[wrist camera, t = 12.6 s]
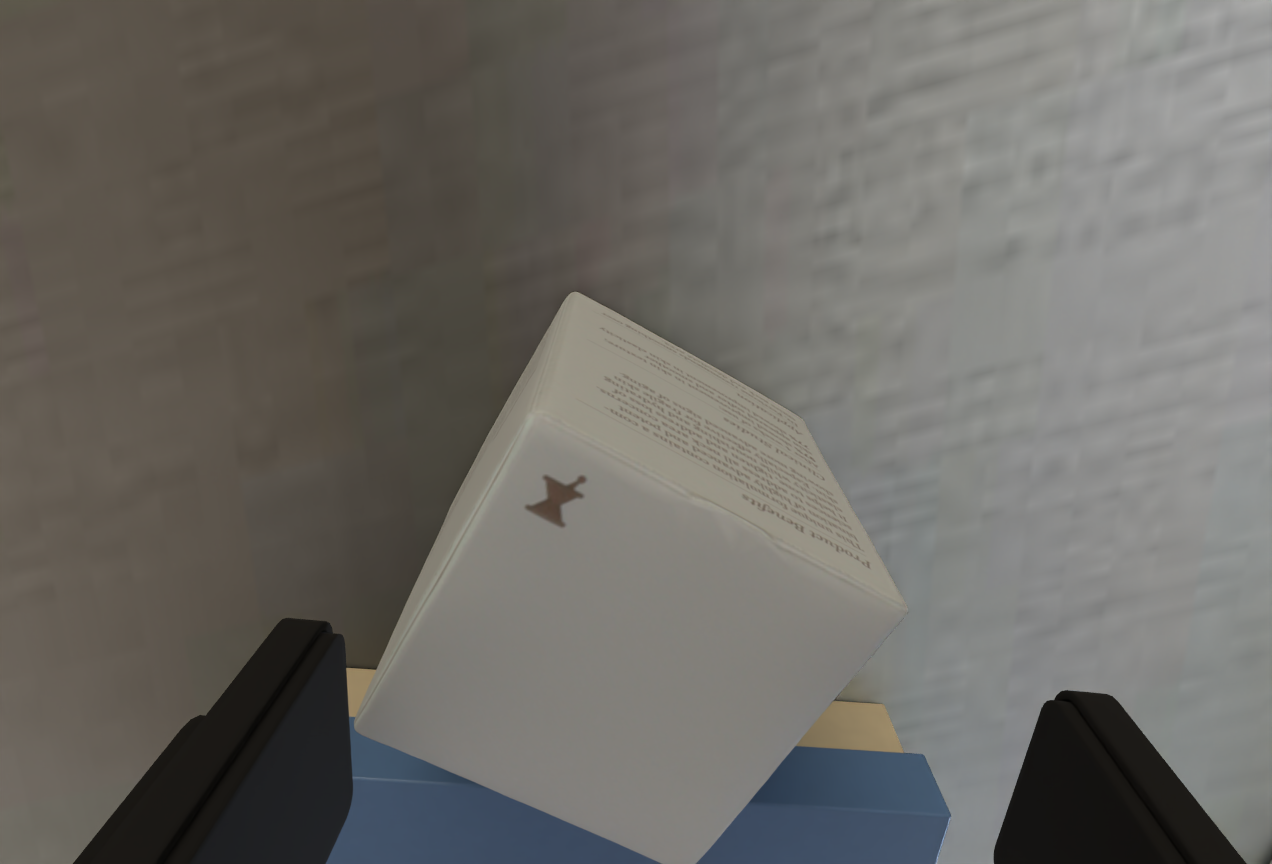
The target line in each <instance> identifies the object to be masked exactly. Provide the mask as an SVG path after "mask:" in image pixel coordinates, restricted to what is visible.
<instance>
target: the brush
mask: <svg viewBox="0 0 1272 864" xmlns="http://www.w3.org/2000/svg"><path fill="white" fill-rule="evenodd" d="M346 671H347V689H348V706H349V724H350V741H351V759H352V777H353V796H352V802H351V807H350V810H349V813H348V816H347V819H346V821H345V823H344V825H343V827H342V830H341V832H340V834H339V836H338V838H337V840H336V843H335V845H334V847H333V849H332V851H331V853H330V856H329V858H328V860H327V862H326V864H661V863H659V862H657V861H655V860H653V859H650V858H648V857H646V856H644V855H641V854H639V853H637V852H635V851H633V850H630V849H628V848H626V847H624V846H621V845H619V844H617V843H615V842H613V841H610V840H608V839H606V838H603V837H601V836H599V835H596V834H594V833H592V832H589V831H587V830H584V829H582V828H580V827H577V826H575V825H573V824H570V823H568V822H566V821H563V820H561V819H559V818H557V817H554V816H552V815H550V814H548V813H545V812H543V811H541V810H538V809H536V808H534V807H531V806H529V805H526V804H524V803H522V802H519V801H517V800H514V799H512V798H509V797H507V796H505V795H503V794H500V793H498V792H496V791H493V790H491V789H489V788H487V787H484V786H482V785H480V784H478V783H475V782H473V781H471V780H468V779H466V778H463V777H461V776H459V775H456V774H454V773H451V772H449V771H447V770H444V769H442V768H440V767H438V766H435V765H433V764H431V763H428V762H426V761H424V760H422V759H419V758H416V757H414V756H411V755H409V754H406V753H404V752H402V751H400V750H398V749H395V748H393V747H390V746H387V745H385V744H382V743H379V742H377V741H375V740H372V739H370V738H367V737H365V736H363V735H361V734H359V733H358V732H356V730H355V729H354V720H355V717H356V715H357V712H358V710H359V708H360V705H361V703H362V701H363V698H364V696H365V694H366V692H367V689H368V687H369V685H370V683H371V680H372V678H373V676H374V674H375V672H376V670H372V669H357V668H346ZM950 819H951V814H950V812H949V810H948V807H947V805H946V803H945V801H944V798H943V796H942V794H941V792H940V790H939V787H938V785H937V783H936V781H935V778H934V776H933V774H932V772H931V770H930V767H929V765H928V763H927V761H926V758H925V756H924V755H922V754H912V753H904V751H903V749H902V746H901V744H900V742H899V739H898V737H897V735H896V732H895V730H894V727H893V725H892V723H891V720H890V718H889V716H888V713H887V711H886V708H885V706H884V705H883V704H873V703H859V702H844V701H833V702H832V703H831V704H830V706H829V707H828V708H827V709H826V710H825V711H824V712H823V713H822V715H821V716H820V717H819V718H818V719H817V721H816V722H815V723H814V724H813V725H812V727H811V728H810V729H809V730H808V731H807V733H806V734H805V735H804V736H803V737H802V738H801V740H800V741H799V742H798V743H797V745H796V746H795V747H794V748H793V749H792V751H791V752H790V753H789V754H788V755H787V756H786V758H785V759H784V760H783V761H782V762H781V764H780V765H779V766H778V767H777V769H776V770H775V771H774V772H773V774H772V775H771V776H770V777H769V779H768V780H767V781H766V782H765V783H764V785H763V786H762V787H761V788H760V789H759V790H758V792H757V793H756V794H755V795H754V796H753V798H752V799H751V800H750V801H749V803H748V804H747V805H746V806H745V807H744V809H743V810H742V811H741V812H740V813H739V814H738V815H737V817H736V818H735V819H734V820H733V821H732V823H731V824H730V825H729V826H728V827H727V829H726V830H725V831H724V832H723V833H722V835H721V836H720V837H719V838H718V839H717V841H716V842H715V843H714V844H713V845H712V846H711V848H710V849H709V850H708V851H707V852H706V853H705V854H704V855H703V857H702V858H701V859H700V860H699V861H698V862H697V863H696V864H936V863H937V860H938V857H939V854H940V851H941V847H942V844H943V841H944V838H945V835H946V832H947V829H948V825H949V822H950Z"/></svg>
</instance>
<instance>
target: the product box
mask: <svg viewBox="0 0 1272 864" xmlns="http://www.w3.org/2000/svg"><path fill="white" fill-rule="evenodd" d="M907 613H908V607H907V605H906V603H905V601H904V600H903V598H902V596H901V594H900V592H899V590H898V589H897V587H896V585H895V583H894V581H893V580H892V578H891V576H890V574H889V572H888V571H887V569H886V567H885V565H884V563H883V561H882V559H881V558H880V556H879V555H878V553H877V551H876V549H875V547H874V545H873V543H872V541H871V540H870V538H869V536H868V534H867V533H866V532H865V530H864V528H863V526H862V524H861V523H860V521H859V519H858V518H857V516H856V514H855V512H854V511H853V509H852V507H851V506H850V504H849V502H848V500H847V498H846V496H845V495H844V493H843V491H842V490H841V488H840V486H839V484H838V483H837V481H836V479H835V477H834V475H833V474H832V472H831V470H830V468H829V467H828V465H827V463H826V461H825V460H824V458H823V456H822V454H821V452H820V450H819V448H818V446H817V445H816V443H815V441H814V439H813V437H812V436H811V434H810V432H809V430H808V428H807V426H806V424H805V422H804V420H803V419H802V418H801V417H799V416H797V415H796V414H794V413H792V412H790V411H789V410H787V409H786V408H784V407H782V406H781V405H779V404H777V403H776V402H774V401H772V400H770V399H769V398H767V397H765V396H764V395H762V394H760V393H758V392H757V391H755V390H753V389H751V388H750V387H748V386H746V385H745V384H743V383H741V382H739V381H738V380H736V379H734V378H732V377H731V376H729V375H727V374H725V373H724V372H722V371H720V370H718V369H717V368H715V367H713V366H711V365H710V364H708V363H706V362H704V361H702V360H701V359H699V358H697V357H695V356H694V355H692V354H690V353H688V352H686V351H685V350H683V349H681V348H679V347H677V346H676V345H674V344H672V343H670V342H668V341H667V340H665V339H663V338H661V337H659V336H657V335H656V334H654V333H652V332H650V331H648V330H647V329H645V328H643V327H641V326H639V325H638V324H636V323H634V322H632V321H630V320H629V319H627V318H625V317H623V316H622V315H620V314H618V313H616V312H614V311H613V310H611V309H609V308H607V307H605V306H603V305H601V304H599V303H597V302H595V301H594V300H592V299H590V298H588V297H586V296H584V295H582V294H581V293H578V292H572V293H570V294H569V295H568V296H567V298H566V299H565V300H564V302H563V303H562V305H561V307H560V309H559V310H558V312H557V314H556V316H555V318H554V319H553V321H552V323H551V325H550V327H549V328H548V330H547V332H546V333H545V335H544V337H543V339H542V340H541V342H540V344H539V346H538V347H537V349H536V351H535V353H534V354H533V356H532V358H531V360H530V361H529V363H528V365H527V367H526V368H525V370H524V372H523V373H522V375H521V377H520V379H519V380H518V382H517V384H516V386H515V387H514V389H513V391H512V393H511V395H510V396H509V398H508V400H507V402H506V404H505V405H504V407H503V409H502V411H501V412H500V414H499V416H498V418H497V420H496V421H495V423H494V425H493V427H492V429H491V430H490V432H489V434H488V436H487V438H486V440H485V441H484V443H483V445H482V447H481V449H480V451H479V453H478V455H477V457H476V459H475V461H474V463H473V465H472V467H471V469H470V471H469V472H468V474H467V476H466V478H465V480H464V482H463V484H462V486H461V488H460V489H459V491H458V493H457V495H456V497H455V499H454V501H453V503H452V505H451V507H450V509H449V511H448V514H447V516H446V519H445V521H444V523H443V525H442V528H441V530H440V532H439V534H438V537H437V539H436V541H435V543H434V545H433V547H432V549H431V551H430V554H429V556H428V558H427V560H426V562H425V564H424V566H423V568H422V571H421V573H420V575H419V577H418V579H417V581H416V583H415V585H414V587H413V590H412V592H411V594H410V596H409V599H408V601H407V603H406V605H405V607H404V609H403V612H402V614H401V616H400V619H399V621H398V623H397V625H396V627H395V629H394V632H393V634H392V636H391V638H390V641H389V643H388V645H387V648H386V650H385V652H384V654H383V657H382V659H381V661H380V663H379V665H378V667H377V670H376V672H375V674H374V676H373V678H372V680H371V683H370V685H369V687H368V689H367V692H366V694H365V696H364V698H363V701H362V703H361V705H360V708H359V710H358V712H357V715H356V717H355V720H354V729H355V730H356V732H358V733H359V734H361V735H363V736H365V737H367V738H370V739H372V740H375V741H377V742H379V743H382V744H385V745H387V746H390V747H393V748H395V749H398V750H400V751H402V752H404V753H406V754H409V755H411V756H414V757H416V758H419V759H422V760H424V761H426V762H428V763H431V764H433V765H435V766H438V767H440V768H442V769H444V770H447V771H449V772H451V773H454V774H456V775H459V776H461V777H463V778H466V779H468V780H471V781H473V782H475V783H478V784H480V785H482V786H484V787H487V788H489V789H491V790H493V791H496V792H498V793H500V794H503V795H505V796H507V797H509V798H512V799H514V800H517V801H519V802H522V803H524V804H526V805H529V806H531V807H534V808H536V809H538V810H541V811H543V812H545V813H548V814H550V815H552V816H554V817H557V818H559V819H561V820H563V821H566V822H568V823H570V824H573V825H575V826H577V827H580V828H582V829H584V830H587V831H589V832H592V833H594V834H596V835H599V836H601V837H603V838H606V839H608V840H610V841H613V842H615V843H617V844H619V845H621V846H624V847H626V848H628V849H630V850H633V851H635V852H637V853H639V854H641V855H644V856H646V857H648V858H650V859H653V860H655V861H657V862H659V863H661V864H696V863H697V862H698V861H699V860H700V859H701V858H702V857H703V855H704V854H705V853H706V852H707V851H708V850H709V849H710V848H711V846H712V845H713V844H714V843H715V842H716V841H717V839H718V838H719V837H720V836H721V835H722V833H723V832H724V831H725V830H726V829H727V827H728V826H729V825H730V824H731V823H732V821H733V820H734V819H735V818H736V817H737V815H738V814H739V813H740V812H741V811H742V810H743V809H744V807H745V806H746V805H747V804H748V803H749V801H750V800H751V799H752V798H753V796H754V795H755V794H756V793H757V792H758V790H759V789H760V788H761V787H762V786H763V785H764V783H765V782H766V781H767V780H768V779H769V777H770V776H771V775H772V774H773V772H774V771H775V770H776V769H777V767H778V766H779V765H780V764H781V762H782V761H783V760H784V759H785V758H786V756H787V755H788V754H789V753H790V752H791V751H792V749H793V748H794V747H795V746H796V745H797V743H798V742H799V741H800V740H801V738H802V737H803V736H804V735H805V734H806V733H807V731H808V730H809V729H810V728H811V727H812V725H813V724H814V723H815V722H816V721H817V719H818V718H819V717H820V716H821V715H822V713H823V712H824V711H825V710H826V709H827V708H828V707H829V706H830V704H831V703H832V702H833V701H834V700H835V698H836V697H837V696H838V695H839V694H840V692H841V691H842V690H843V689H844V688H845V687H846V686H847V684H848V683H849V682H850V681H851V680H852V679H853V678H854V677H855V675H856V674H857V673H858V672H859V671H860V669H861V668H862V667H863V666H864V665H865V663H866V662H867V661H868V660H869V659H870V658H871V656H872V655H873V654H874V653H875V651H876V650H877V649H878V648H879V647H880V645H881V644H882V643H883V642H884V640H885V639H886V638H887V637H888V636H889V635H890V634H891V633H892V631H893V630H894V629H895V628H896V627H897V626H898V624H899V623H900V622H901V621H902V620H903V619H904V617H905V616H906V615H907Z"/></svg>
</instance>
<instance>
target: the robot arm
mask: <svg viewBox="0 0 1272 864" xmlns="http://www.w3.org/2000/svg"><path fill="white" fill-rule="evenodd" d="M352 796H353V777H352V759H351V741H350V724H349V706H348V689H347V671H346V653H345V641H344V637H343V635H341V634H333V632H332V627H331V625H330V623H328V622H326V621H315V620H304V619H293V618H285V619H282V620H281V621H280V622H279V623H278V624H277V625H276V627H275V628H274V629H273V630H272V632H271V633H270V634H269V635H268V637H267V638H266V639H265V641H264V642H263V643H262V644H261V646H260V647H259V648H258V650H257V651H256V652H255V653H254V655H253V656H252V657H251V658H250V660H249V661H248V662H247V664H246V665H245V666H244V667H243V669H242V670H241V671H240V673H239V674H238V675H237V676H236V678H235V679H234V680H233V681H232V683H231V684H230V685H229V687H228V688H227V689H226V690H225V692H224V693H223V694H222V696H221V697H220V698H219V699H218V701H217V702H216V703H215V704H214V706H213V707H212V708H211V710H210V711H209V712H208V713H207V715H206V716H203V715H199V716H197V717H195V718H193V719H191V720H190V721H189V722H188V723H187V724H186V725H185V726H184V727H183V728H182V729H181V730H180V731H179V733H178V734H177V735H176V736H175V738H174V739H173V740H172V741H171V743H170V744H169V745H168V746H167V748H166V749H165V750H164V751H163V752H162V754H161V755H160V756H159V757H158V759H157V760H156V761H155V762H154V764H153V765H152V766H151V767H150V769H149V770H148V771H147V772H146V774H145V775H144V776H143V777H142V779H141V780H140V781H139V782H138V783H137V785H136V786H135V787H134V788H133V790H132V791H131V792H130V793H129V795H128V796H127V797H126V798H125V800H124V801H123V802H122V803H121V805H120V806H119V807H118V808H117V810H116V811H115V812H114V813H113V815H112V816H111V817H110V818H109V819H108V821H107V822H106V823H105V824H104V826H103V827H102V828H101V829H100V831H99V832H98V833H97V834H96V836H95V837H94V838H93V839H92V841H91V842H90V843H89V844H88V846H87V847H86V848H85V849H84V850H83V852H82V853H81V854H80V855H79V857H78V858H77V859H76V860H75V862H74V863H73V864H326V862H327V860H328V858H329V856H330V853H331V851H332V849H333V847H334V845H335V843H336V840H337V838H338V836H339V834H340V832H341V830H342V827H343V825H344V823H345V821H346V819H347V816H348V813H349V810H350V807H351V802H352ZM994 864H1246V863H1245V861H1244V860H1243V859H1242V858H1241V856H1240V855H1239V854H1238V852H1237V851H1236V850H1235V849H1234V847H1233V846H1232V845H1231V844H1230V842H1229V841H1228V840H1227V839H1226V837H1225V836H1224V835H1223V834H1222V832H1221V831H1220V830H1219V828H1218V827H1217V826H1216V825H1215V823H1214V822H1213V821H1212V820H1211V818H1210V817H1209V816H1208V815H1207V813H1206V812H1205V811H1204V810H1203V808H1202V807H1201V806H1200V804H1199V803H1198V802H1197V801H1196V799H1195V798H1194V797H1193V796H1192V794H1191V793H1190V792H1189V791H1188V789H1187V788H1186V787H1185V786H1184V784H1183V783H1182V782H1181V780H1180V779H1179V778H1178V777H1177V775H1176V774H1175V773H1174V772H1173V770H1172V769H1171V768H1170V767H1169V765H1168V764H1167V763H1166V762H1165V760H1164V759H1163V758H1162V756H1161V755H1160V754H1159V753H1158V751H1157V750H1156V749H1155V748H1154V746H1153V745H1152V744H1151V743H1150V741H1149V740H1148V739H1147V738H1146V736H1145V735H1144V734H1143V733H1142V731H1141V730H1140V729H1139V727H1138V726H1137V725H1136V724H1135V722H1134V721H1133V720H1132V719H1131V717H1130V716H1129V715H1128V714H1127V712H1126V711H1125V710H1124V709H1123V707H1122V706H1121V705H1120V703H1119V702H1118V701H1117V700H1116V699H1115V698H1114V697H1113V696H1110V695H1108V694H1101V693H1090V692H1079V691H1069V690H1065V691H1061V692H1060V693H1059V694H1058V695H1057V696H1056V698H1055V700H1049V701H1047V702H1046V703H1044V705H1043V707H1042V709H1041V712H1040V715H1039V718H1038V721H1037V724H1036V727H1035V730H1034V733H1033V736H1032V739H1031V742H1030V744H1029V747H1028V750H1027V753H1026V756H1025V759H1024V762H1023V765H1022V768H1021V771H1020V774H1019V777H1018V780H1017V783H1016V786H1015V789H1014V792H1013V795H1012V798H1011V801H1010V804H1009V807H1008V810H1007V813H1006V816H1005V819H1004V822H1003V824H1002V827H1001V830H1000V833H999V836H998V839H997V842H996V845H995V849H994ZM1270 864H1272V860H1271V862H1270Z"/></svg>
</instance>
